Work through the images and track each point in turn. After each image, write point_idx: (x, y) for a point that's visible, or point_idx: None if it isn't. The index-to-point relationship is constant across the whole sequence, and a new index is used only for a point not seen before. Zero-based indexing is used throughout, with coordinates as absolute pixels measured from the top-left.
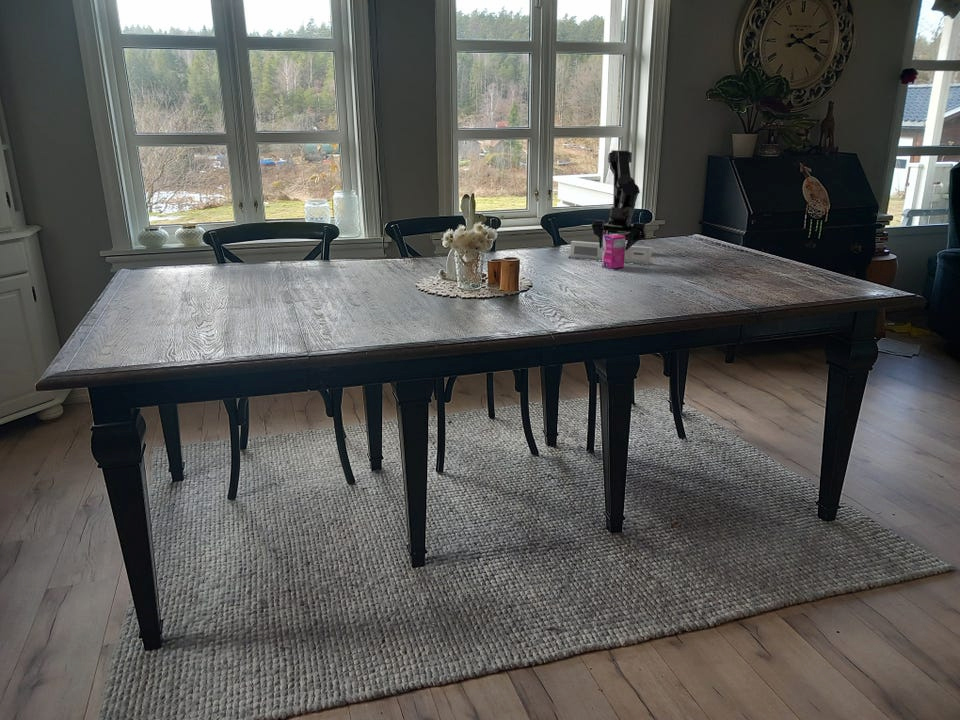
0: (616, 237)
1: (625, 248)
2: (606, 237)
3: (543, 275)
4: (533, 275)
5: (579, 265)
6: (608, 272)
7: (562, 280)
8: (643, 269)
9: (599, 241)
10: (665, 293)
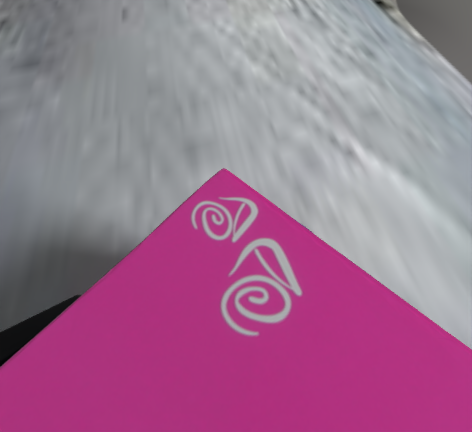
0: (167, 217)
1: None
2: (370, 283)
3: (430, 99)
4: (457, 91)
5: None
6: None
7: (340, 61)
8: None
9: None
10: (27, 12)
